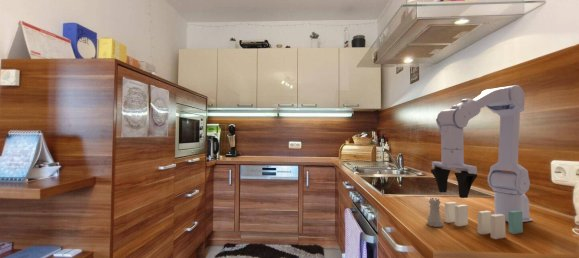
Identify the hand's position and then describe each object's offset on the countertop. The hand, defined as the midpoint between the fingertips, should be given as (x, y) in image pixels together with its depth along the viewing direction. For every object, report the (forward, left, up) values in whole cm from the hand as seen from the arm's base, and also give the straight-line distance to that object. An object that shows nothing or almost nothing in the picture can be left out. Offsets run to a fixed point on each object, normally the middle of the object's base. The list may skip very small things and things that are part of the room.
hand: (452, 194), depth 78 cm
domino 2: (-5, -1, -10) cm, 11 cm away
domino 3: (-5, +6, -10) cm, 13 cm away
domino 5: (-14, +8, -10) cm, 19 cm away
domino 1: (-5, -5, -10) cm, 12 cm away
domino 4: (-5, +9, -10) cm, 14 cm away
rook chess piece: (+3, -4, -10) cm, 11 cm away
